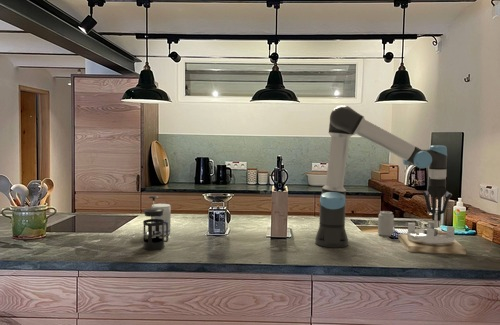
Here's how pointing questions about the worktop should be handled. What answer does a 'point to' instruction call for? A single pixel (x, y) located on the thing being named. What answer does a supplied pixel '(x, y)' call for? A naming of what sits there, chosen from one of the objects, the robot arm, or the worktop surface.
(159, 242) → the french press
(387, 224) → the can
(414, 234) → the ring nut
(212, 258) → the worktop surface
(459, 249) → the base plate
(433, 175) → the robot arm
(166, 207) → the supplement tub
